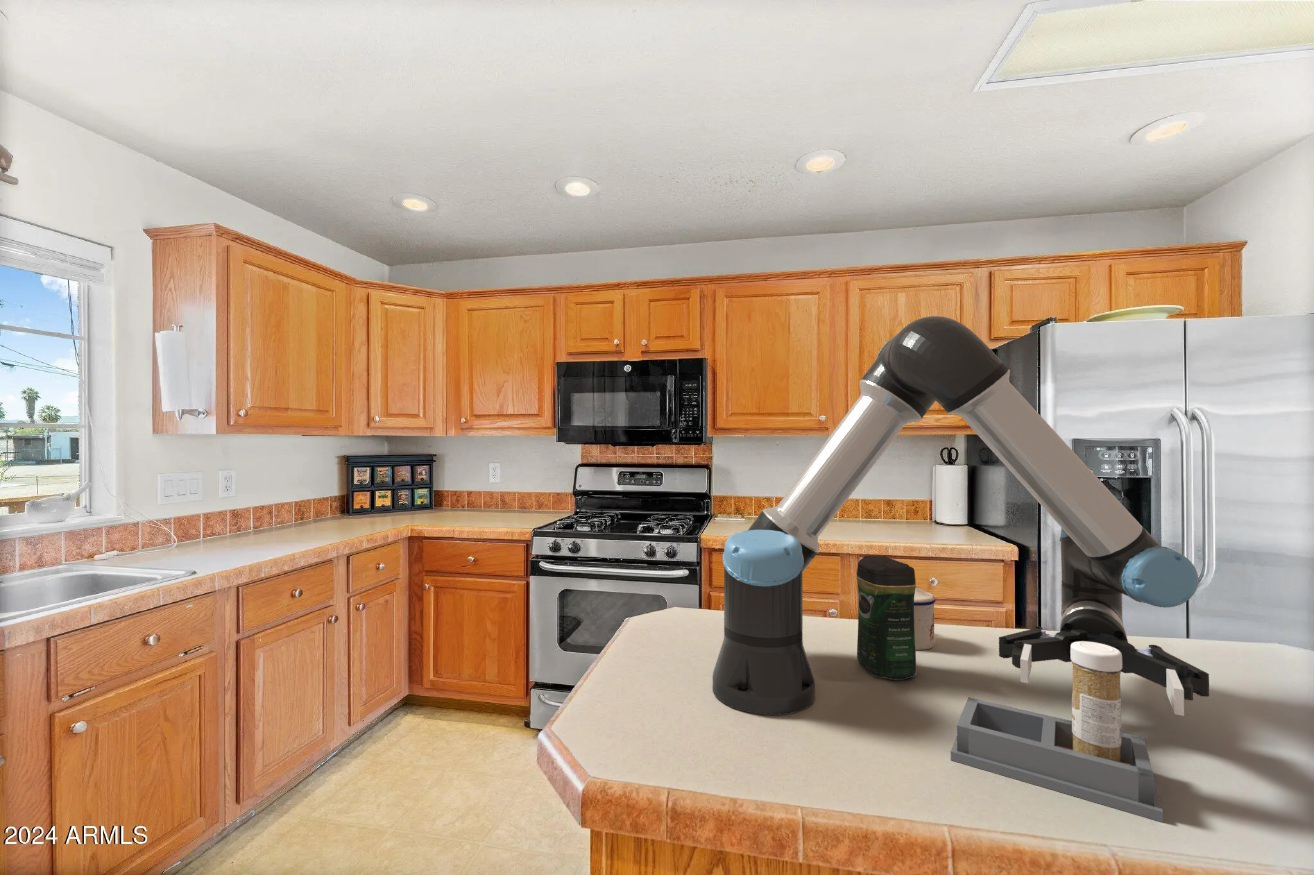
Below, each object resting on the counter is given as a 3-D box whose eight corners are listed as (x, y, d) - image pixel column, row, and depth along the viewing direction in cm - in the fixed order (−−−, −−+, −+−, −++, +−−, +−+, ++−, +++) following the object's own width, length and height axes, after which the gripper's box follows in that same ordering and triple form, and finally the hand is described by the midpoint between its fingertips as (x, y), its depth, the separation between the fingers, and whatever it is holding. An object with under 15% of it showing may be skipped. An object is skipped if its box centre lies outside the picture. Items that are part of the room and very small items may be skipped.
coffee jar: (925, 681, 89) (924, 563, 90) (876, 683, 89) (876, 564, 89) (894, 658, 99) (893, 551, 99) (850, 659, 98) (849, 552, 99)
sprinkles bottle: (1076, 752, 66) (1075, 636, 67) (1126, 768, 63) (1125, 647, 63) (1067, 767, 63) (1066, 646, 63) (1119, 785, 60) (1118, 657, 60)
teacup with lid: (943, 652, 102) (943, 587, 102) (891, 650, 103) (891, 585, 103) (919, 630, 114) (919, 572, 114) (872, 629, 115) (872, 571, 115)
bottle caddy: (950, 759, 67) (950, 725, 67) (964, 724, 76) (964, 694, 76) (1163, 822, 56) (1162, 781, 56) (1150, 772, 64) (1150, 736, 65)
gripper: (1215, 683, 73) (1257, 755, 56) (991, 643, 88) (970, 690, 71) (1214, 624, 73) (1256, 679, 56) (990, 594, 88) (969, 630, 71)
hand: (1096, 685), depth 63 cm, fingers open, 13 cm apart
